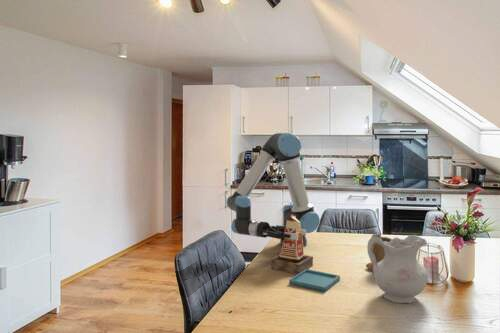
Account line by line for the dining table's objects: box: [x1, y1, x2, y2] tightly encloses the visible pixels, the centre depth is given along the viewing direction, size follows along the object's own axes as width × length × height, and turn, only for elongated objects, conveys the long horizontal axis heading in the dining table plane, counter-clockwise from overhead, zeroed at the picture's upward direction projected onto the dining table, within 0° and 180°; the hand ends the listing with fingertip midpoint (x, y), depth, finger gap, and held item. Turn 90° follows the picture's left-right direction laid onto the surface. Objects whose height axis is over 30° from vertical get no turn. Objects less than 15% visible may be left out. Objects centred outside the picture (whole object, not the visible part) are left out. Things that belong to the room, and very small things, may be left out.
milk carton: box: [279, 215, 305, 260], centre depth 191 cm, size 9×9×20 cm
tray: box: [288, 268, 341, 293], centre depth 173 cm, size 16×16×2 cm
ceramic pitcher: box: [367, 233, 429, 304], centre depth 155 cm, size 22×20×25 cm
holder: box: [270, 254, 314, 275], centre depth 192 cm, size 14×14×4 cm
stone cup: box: [365, 236, 393, 271], centre depth 188 cm, size 15×12×15 cm
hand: (301, 234), depth 188 cm, fingers closed on milk carton, 8 cm apart
